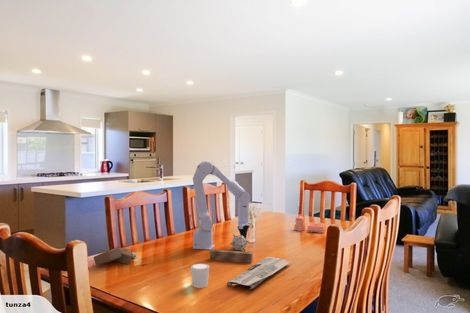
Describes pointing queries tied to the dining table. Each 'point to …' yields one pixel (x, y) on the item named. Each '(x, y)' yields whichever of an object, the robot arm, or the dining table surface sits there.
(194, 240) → the robot arm
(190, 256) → the dining table surface
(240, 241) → the game die
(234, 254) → the batten
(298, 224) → the pottery
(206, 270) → the white short cylinder
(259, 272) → the newspaper
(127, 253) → the grey angled block
